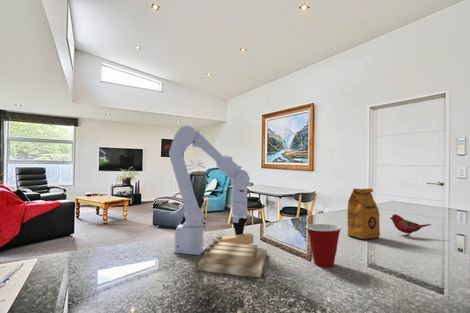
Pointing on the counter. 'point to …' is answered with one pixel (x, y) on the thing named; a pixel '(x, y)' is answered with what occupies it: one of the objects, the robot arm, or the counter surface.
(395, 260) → the counter surface
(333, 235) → the plastic cup
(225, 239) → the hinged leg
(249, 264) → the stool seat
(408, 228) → the decorative bird figurine
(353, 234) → the coffee package
